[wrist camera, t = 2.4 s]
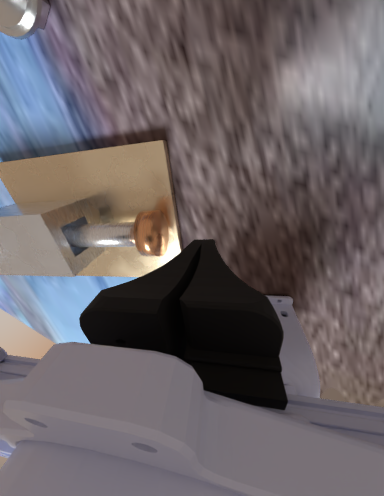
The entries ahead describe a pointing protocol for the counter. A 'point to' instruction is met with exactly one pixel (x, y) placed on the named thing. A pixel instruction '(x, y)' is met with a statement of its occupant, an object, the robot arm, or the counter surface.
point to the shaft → (123, 234)
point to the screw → (22, 17)
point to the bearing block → (84, 209)
